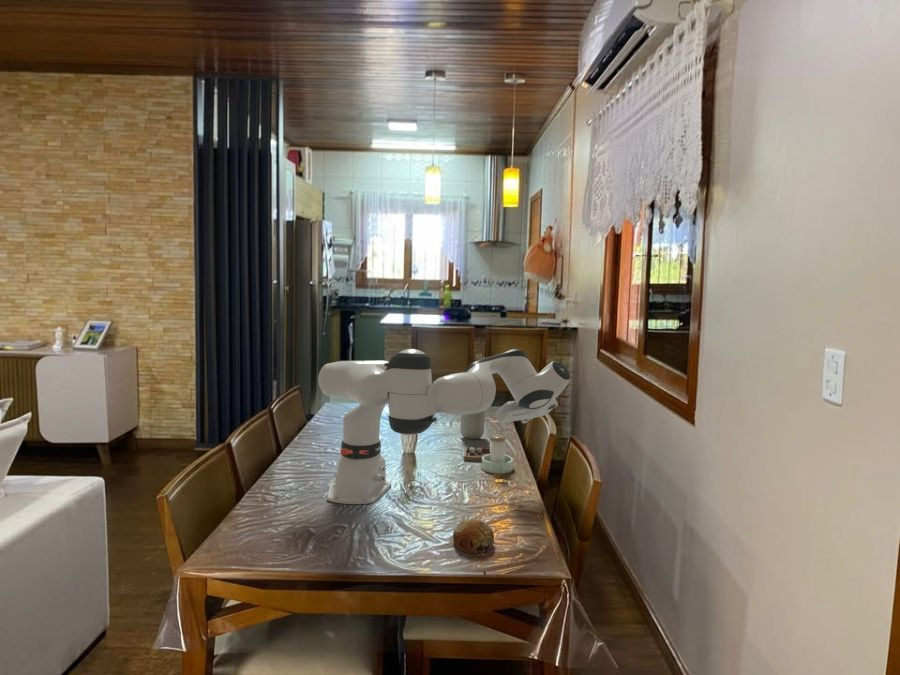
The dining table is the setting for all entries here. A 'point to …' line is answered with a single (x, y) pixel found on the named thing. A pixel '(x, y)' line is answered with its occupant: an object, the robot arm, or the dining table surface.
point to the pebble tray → (475, 455)
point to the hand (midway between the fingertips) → (512, 423)
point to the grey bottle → (472, 425)
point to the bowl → (497, 465)
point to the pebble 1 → (472, 450)
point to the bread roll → (473, 536)
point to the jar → (497, 448)
